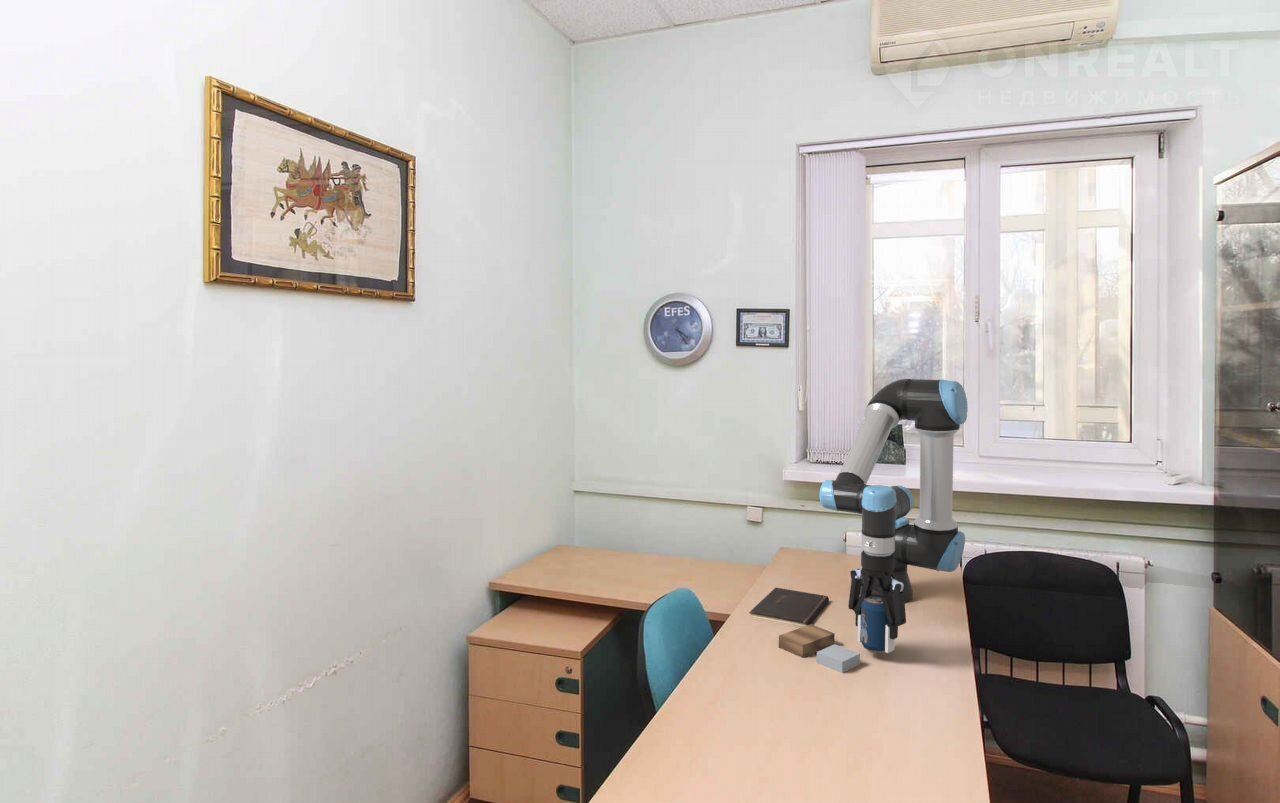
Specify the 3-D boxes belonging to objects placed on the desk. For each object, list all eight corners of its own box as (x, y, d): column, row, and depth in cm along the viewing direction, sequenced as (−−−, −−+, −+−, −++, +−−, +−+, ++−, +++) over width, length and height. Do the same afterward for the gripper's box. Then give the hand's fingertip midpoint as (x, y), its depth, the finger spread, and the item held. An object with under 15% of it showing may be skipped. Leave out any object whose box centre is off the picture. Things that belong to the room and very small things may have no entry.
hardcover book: (749, 620, 202) (749, 612, 202) (775, 594, 223) (775, 587, 222) (807, 631, 195) (807, 622, 195) (828, 603, 215) (829, 596, 215)
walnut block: (810, 635, 191) (810, 624, 190) (834, 645, 185) (834, 633, 184) (778, 647, 183) (778, 635, 183) (802, 657, 177) (802, 645, 177)
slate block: (834, 656, 179) (834, 644, 179) (859, 666, 174) (860, 653, 173) (816, 664, 175) (816, 651, 174) (841, 674, 169) (842, 662, 169)
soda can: (895, 646, 178) (897, 598, 177) (883, 656, 173) (884, 606, 172) (868, 638, 183) (869, 591, 182) (855, 647, 178) (856, 599, 177)
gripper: (833, 545, 181) (831, 636, 184) (906, 565, 166) (903, 664, 168) (852, 539, 186) (850, 628, 188) (925, 558, 170) (922, 655, 172)
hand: (875, 645), depth 178 cm, fingers closed on soda can, 7 cm apart
